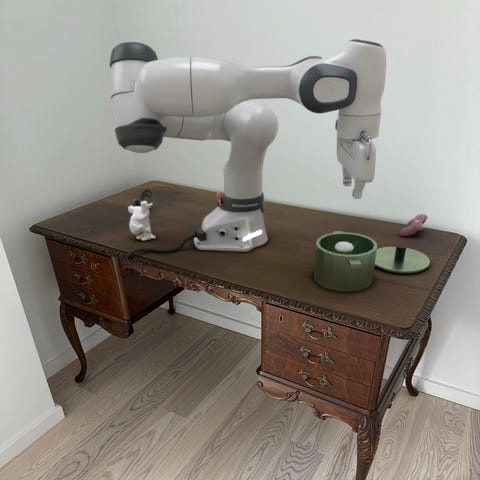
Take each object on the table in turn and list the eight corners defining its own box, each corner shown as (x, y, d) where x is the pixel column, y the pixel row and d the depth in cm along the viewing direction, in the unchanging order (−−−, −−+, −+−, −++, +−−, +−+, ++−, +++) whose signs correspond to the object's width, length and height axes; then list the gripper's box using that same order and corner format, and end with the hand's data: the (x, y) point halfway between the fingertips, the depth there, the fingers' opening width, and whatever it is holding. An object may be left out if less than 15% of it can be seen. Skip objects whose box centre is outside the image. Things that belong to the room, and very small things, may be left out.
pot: (321, 298, 111) (324, 262, 106) (308, 262, 128) (310, 229, 122) (382, 296, 111) (388, 259, 106) (361, 260, 128) (365, 227, 123)
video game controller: (410, 243, 140) (424, 225, 136) (397, 234, 141) (411, 216, 136) (418, 232, 147) (432, 215, 143) (406, 224, 148) (420, 206, 143)
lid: (378, 276, 119) (380, 259, 117) (362, 251, 133) (364, 236, 130) (438, 274, 120) (442, 257, 117) (417, 249, 133) (419, 234, 130)
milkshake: (353, 281, 117) (357, 244, 111) (331, 279, 118) (335, 242, 112) (353, 273, 120) (357, 236, 115) (332, 271, 121) (335, 235, 116)
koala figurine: (162, 236, 146) (157, 199, 140) (149, 244, 141) (144, 205, 135) (140, 232, 150) (134, 195, 143) (127, 240, 144) (120, 202, 138)
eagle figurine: (157, 209, 165) (157, 196, 172) (143, 194, 161) (144, 182, 167) (140, 220, 168) (141, 208, 174) (127, 206, 163) (128, 193, 170)
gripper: (387, 136, 91) (378, 205, 99) (360, 119, 108) (354, 178, 116) (355, 137, 91) (348, 206, 98) (333, 120, 108) (329, 179, 116)
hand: (351, 191), depth 107 cm, fingers open, 8 cm apart
